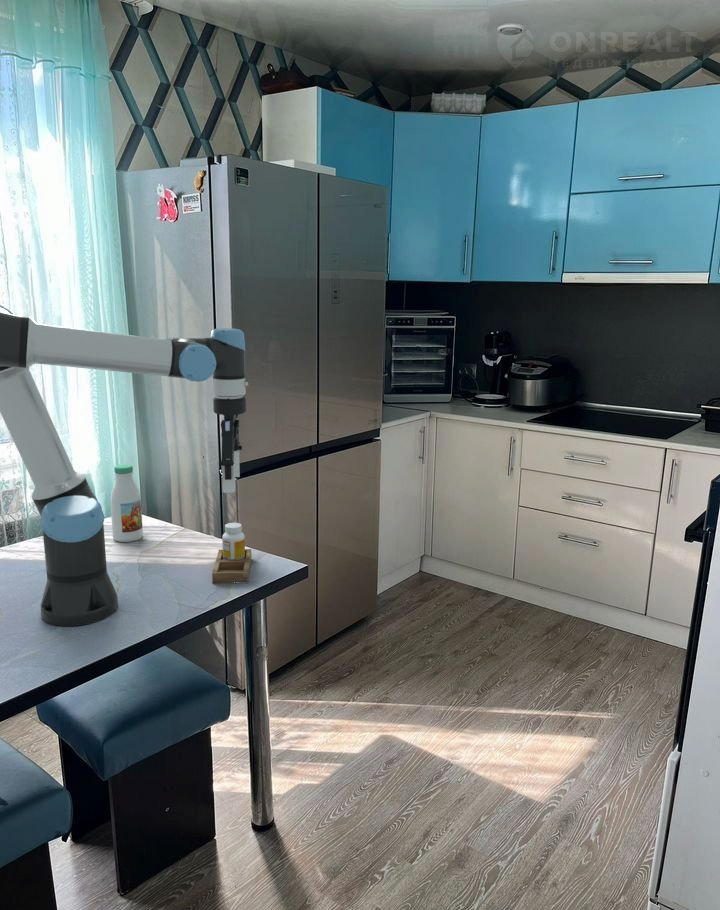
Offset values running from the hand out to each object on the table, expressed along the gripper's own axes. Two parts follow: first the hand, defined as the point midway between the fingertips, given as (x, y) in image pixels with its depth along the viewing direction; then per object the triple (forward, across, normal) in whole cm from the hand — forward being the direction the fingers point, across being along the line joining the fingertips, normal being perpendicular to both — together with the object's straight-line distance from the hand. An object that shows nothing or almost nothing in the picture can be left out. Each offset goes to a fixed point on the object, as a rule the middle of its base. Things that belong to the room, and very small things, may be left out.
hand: (231, 484), depth 172 cm
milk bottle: (+21, +20, +30) cm, 42 cm away
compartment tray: (+20, -4, 0) cm, 21 cm away
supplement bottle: (+20, 0, 0) cm, 20 cm away
